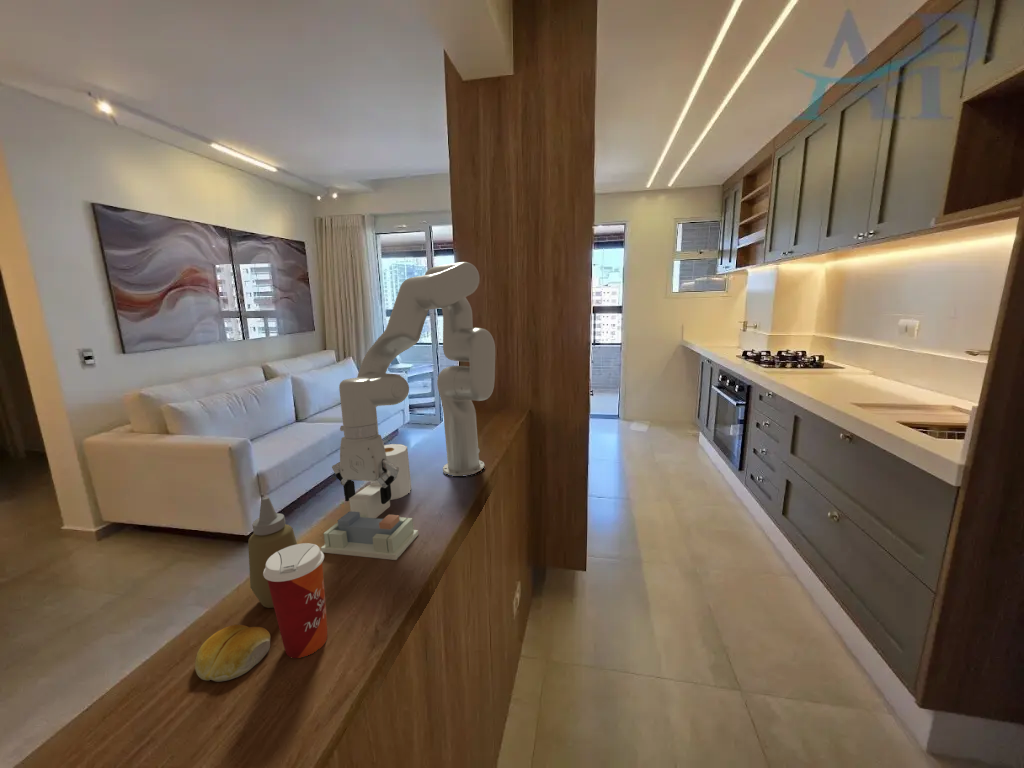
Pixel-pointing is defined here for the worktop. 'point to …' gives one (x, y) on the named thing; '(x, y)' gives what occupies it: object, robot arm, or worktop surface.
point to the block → (368, 501)
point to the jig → (381, 545)
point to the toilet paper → (399, 458)
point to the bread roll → (231, 652)
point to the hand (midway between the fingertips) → (368, 500)
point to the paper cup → (298, 597)
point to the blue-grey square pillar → (367, 527)
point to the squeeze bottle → (266, 547)
